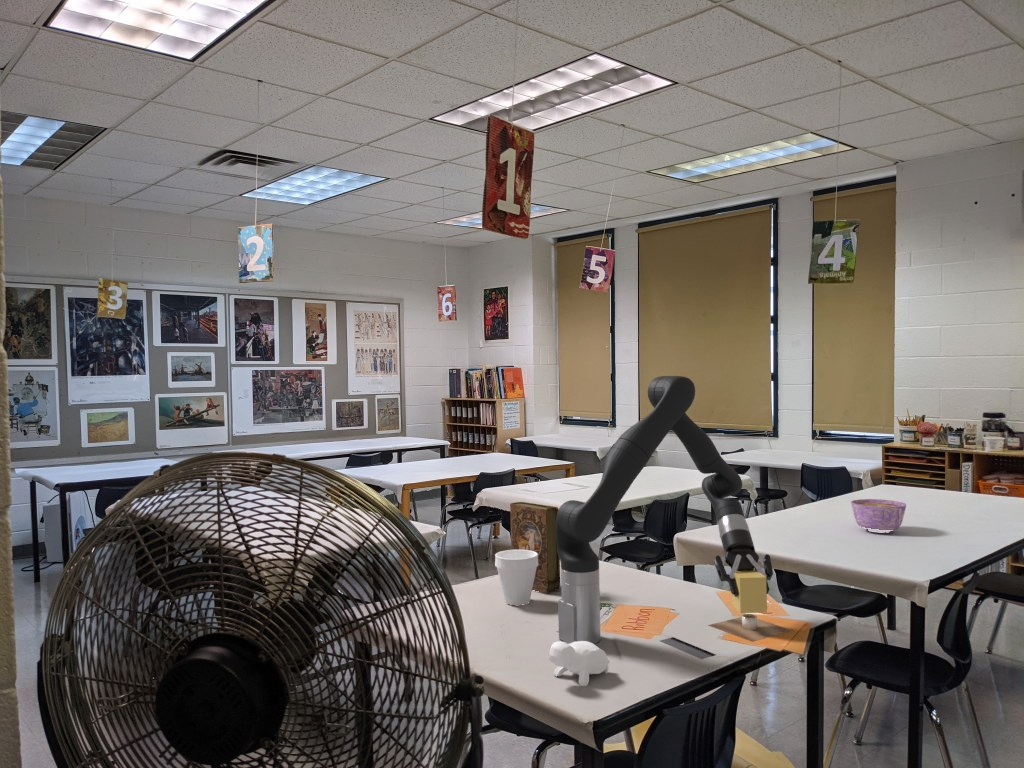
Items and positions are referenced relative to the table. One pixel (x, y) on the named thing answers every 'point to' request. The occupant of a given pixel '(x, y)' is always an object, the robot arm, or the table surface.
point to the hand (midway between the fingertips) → (751, 594)
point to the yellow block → (750, 592)
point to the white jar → (749, 622)
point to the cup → (516, 574)
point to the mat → (687, 648)
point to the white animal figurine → (578, 659)
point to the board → (761, 632)
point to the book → (537, 541)
